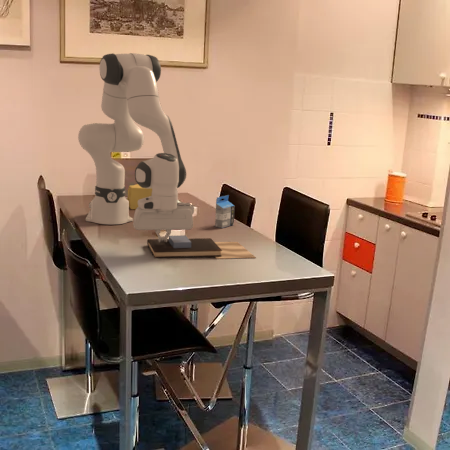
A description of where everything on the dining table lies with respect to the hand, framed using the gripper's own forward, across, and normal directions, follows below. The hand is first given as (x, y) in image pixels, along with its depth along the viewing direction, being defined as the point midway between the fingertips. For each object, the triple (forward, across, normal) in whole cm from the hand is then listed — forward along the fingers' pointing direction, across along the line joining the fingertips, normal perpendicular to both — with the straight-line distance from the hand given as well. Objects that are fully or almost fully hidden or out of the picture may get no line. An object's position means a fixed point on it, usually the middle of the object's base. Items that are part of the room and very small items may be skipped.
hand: (162, 242), depth 207 cm
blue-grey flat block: (+1, -6, 0) cm, 6 cm away
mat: (+3, -24, 0) cm, 24 cm away
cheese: (+4, -4, -72) cm, 72 cm away
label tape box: (+4, -33, -36) cm, 49 cm away
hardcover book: (+3, -8, 0) cm, 8 cm away
